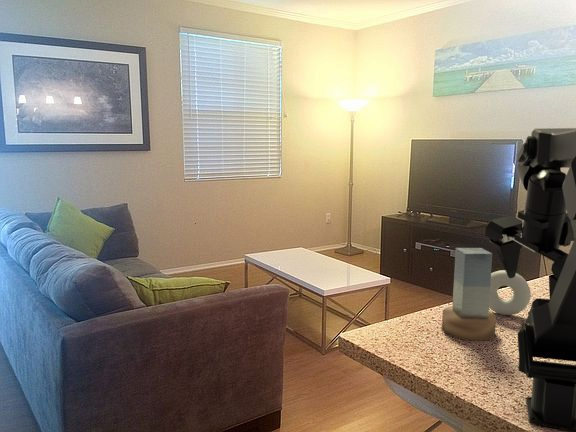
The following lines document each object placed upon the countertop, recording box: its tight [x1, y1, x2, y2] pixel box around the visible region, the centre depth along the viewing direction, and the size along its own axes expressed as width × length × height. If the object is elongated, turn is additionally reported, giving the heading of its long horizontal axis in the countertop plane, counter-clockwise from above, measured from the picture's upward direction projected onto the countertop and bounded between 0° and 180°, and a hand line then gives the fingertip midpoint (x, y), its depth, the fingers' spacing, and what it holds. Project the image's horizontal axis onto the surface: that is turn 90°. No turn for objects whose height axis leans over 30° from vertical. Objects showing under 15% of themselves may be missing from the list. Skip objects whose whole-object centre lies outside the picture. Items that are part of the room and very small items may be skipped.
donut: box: [489, 269, 532, 316], centre depth 104 cm, size 10×4×10 cm, turn 59°
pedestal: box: [441, 305, 497, 342], centre depth 95 cm, size 10×10×4 cm
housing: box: [452, 247, 493, 319], centre depth 94 cm, size 5×5×13 cm
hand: (531, 290), depth 80 cm, fingers open, 9 cm apart
